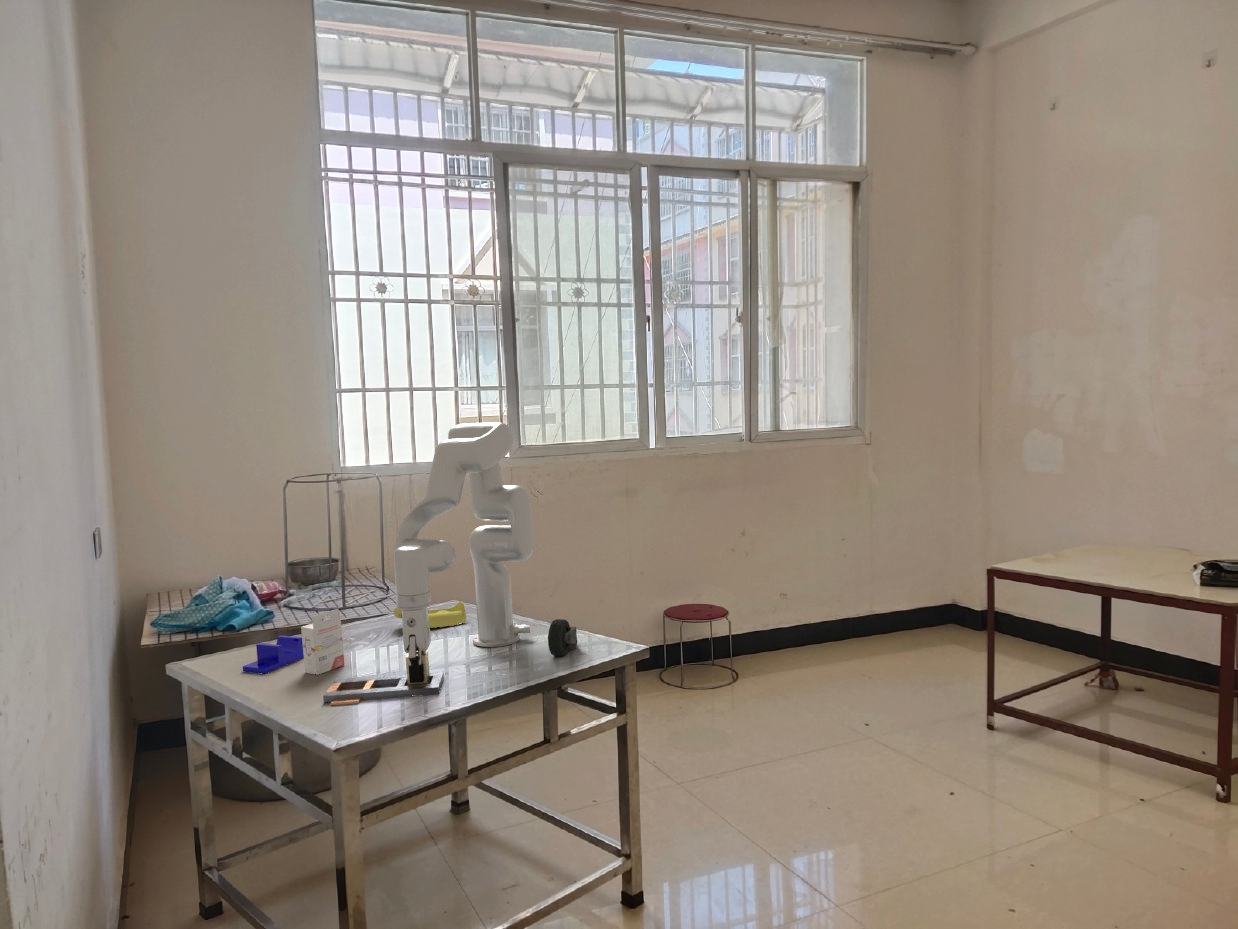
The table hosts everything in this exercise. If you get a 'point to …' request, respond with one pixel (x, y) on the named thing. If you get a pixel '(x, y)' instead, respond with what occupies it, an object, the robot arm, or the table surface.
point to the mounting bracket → (276, 654)
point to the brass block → (425, 665)
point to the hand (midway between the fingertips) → (418, 677)
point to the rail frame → (364, 688)
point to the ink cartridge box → (323, 643)
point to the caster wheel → (561, 637)
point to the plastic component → (442, 616)
